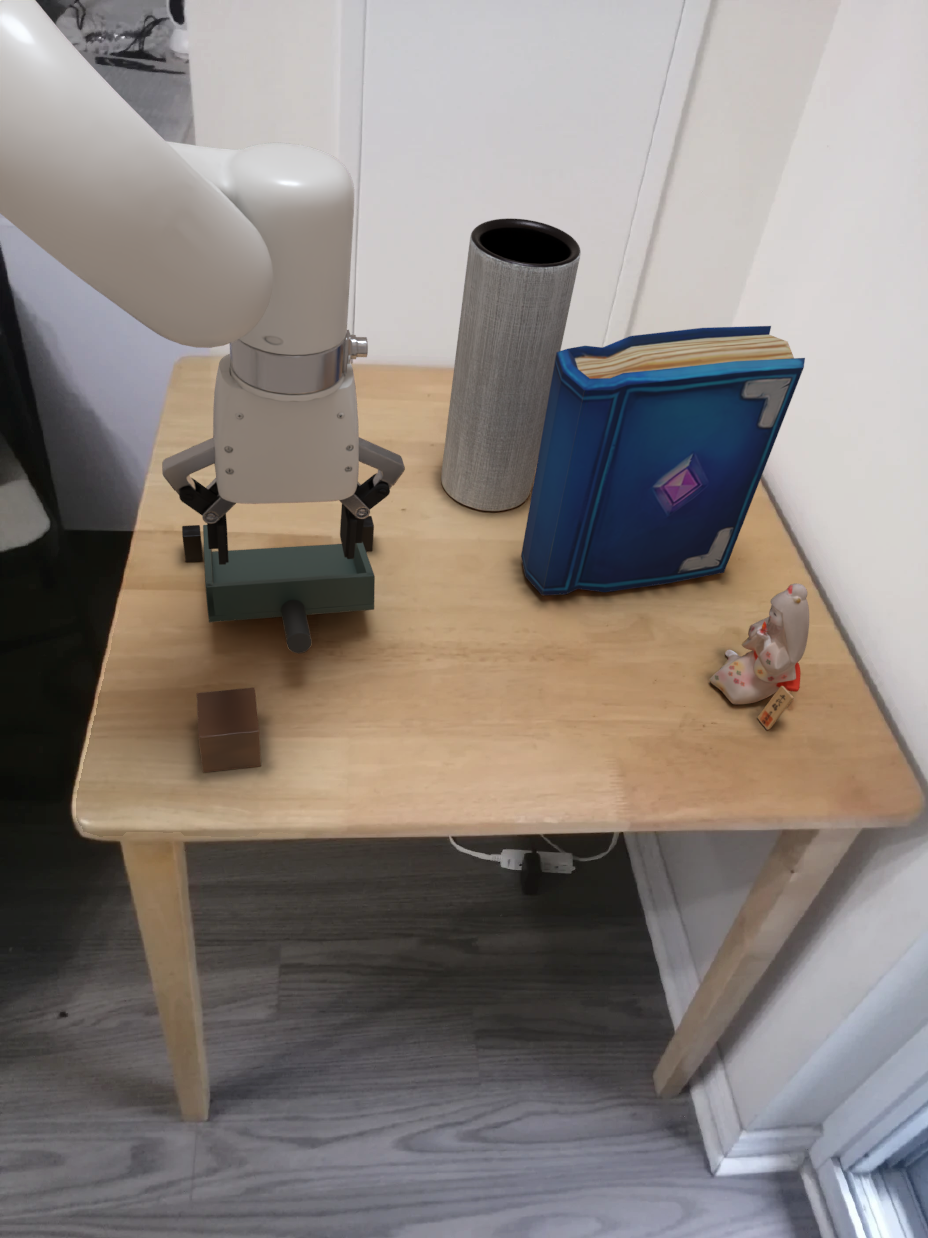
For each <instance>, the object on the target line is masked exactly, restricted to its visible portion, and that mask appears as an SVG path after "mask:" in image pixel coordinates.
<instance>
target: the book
mask: <svg viewBox="0 0 928 1238" xmlns="http://www.w3.org/2000/svg"><path fill="white" fill-rule="evenodd" d="M771 329H772V325H753V326H750V325H749V326H717V327H715V326H714V327H698V328H687V329H680V330H670V331H661V332H654V333H645V334H635V335H630V336H627V337H624V338H622V339H620V340H617V341H615V342H614V341H613V342H612V343H610V344H607V345H604V346H602V347H601V346H594V345H593V346H592V345H581V346H575V347H574V346H573V347H569V348H566V349H561V351H559V352H556V358H555V364H554V370H553V375H552V381H551V387H550V392H549V398H548V404H547V410H546V415H545V421H544V427H543V433H542V438H541V444H540V450H539V456H538V461H537V465H536V470H535V475H534V480H533V484H532V489H531V496H530V503H529V508H528V514H527V518H526V524H525V531H524V536H523V542H522V547H521V554H520V558H521V563H522V567H523V573H524V577H525V578H526V579H527V580H528V582H530V584H531V585H532V586H533V587H534V588H535V589H536V590H537V592H538V593H539V594H540V595H541V596H557V595H560V596H561V595H568V594H570V593H572V592H575V591H577V590H585V591H592V592H599V593H600V592H601V593H608V592H609V593H610V592H617V591H624V590H630V589H638V588H646V587H652V586H659V585H665V584H671V583H676V582H682V581H686V580H692V579H697V578H702V577H708V576H714V575H718V574H723V573H725V572H726V568H727V566H728V564H729V561H730V559H731V556H732V553H733V551H734V548H735V546H736V543H737V541H738V538H739V536H740V533H741V530H742V527H743V526H744V522H745V520H746V517H747V515H748V512H749V509H750V507H751V504H752V502H753V499H754V497H755V494H756V491H757V489H758V486H759V483H760V481H761V479H762V476H763V474H764V471H765V468H766V466H767V463H768V461H769V459H770V455H771V453H772V451H773V447H774V446H775V443H776V440H777V437H778V435H779V432H780V430H781V427H782V425H783V423H784V419H785V418H786V415H787V412H788V409H789V407H790V404H791V402H792V399H793V398H794V394H795V392H796V389H797V386H798V384H799V381H800V379H801V376H802V373H803V372H804V369H805V363H806V357H794V355H793V351H792V349H791V346H790V344H789V341H787V340H785V339H782V338H780V337H777V336H774V335H771Z"/></svg>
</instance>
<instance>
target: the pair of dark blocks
mask: <svg viewBox="0 0 928 1238" xmlns="http://www.w3.org/2000/svg"><path fill="white" fill-rule="evenodd" d="M374 532H375V525H374V521H373V517H372V515H369V516H368V517H367V518H364V527H363V538H362V542H363V545H364V547H365V550H366V552H372V551H373V547H374V534H375V533H374ZM181 535H182V545H183V552H184V561H185V563H193V562H194V563H195V562H203V561H204V551H203V543H202V533H201V525H200V524H192V525H182V526H181Z"/></svg>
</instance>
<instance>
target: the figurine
mask: <svg viewBox="0 0 928 1238" xmlns="http://www.w3.org/2000/svg"><path fill="white" fill-rule="evenodd" d="M809 630H810V608H809V602H808V590H807V588H806V586H805V585H804V584H802V583H797V582H796V583H791V584H790V585H788V586H787V588H786V589H785V590H782V591H781V592H779V593H776V594H775V595H774V596H773V597H772V598H771V599H770V609H769V611H768V616H767V617H765V618H763V619H760V620H758V621H756V622H754V623H752V624H750V625H749V627H748V633H747V635H748V637H747V638H745V640H744V641H743V642H742V643H741V647H742V648H744V649H746V650H749V651H748V652H746V653H745V654H743V655H742V656H741V655H739V654H738V653H737V652H735V651H734V650H732V649H727V650H726V651H725V652H724V655H725V656H726V657H727V660H726V662H724V663H723V665H722V666H721V667H720V668H719V670H717V671H716V672H714V674H713V675H712V676H710V678H709V682H710V683H711V684H712V685H713V686H714V687H716V688H717V689H718V690H720V691H721V692H722V694H723V695H724V696H725V697H726V699H728V701H729V703H731V704H733V705H749V704H753V703H757V702H760V701H762V700H765V699H767V698H769V697H770V696H771V699H770V700H769V701H768V703H767V704H766V705H765V707H764V708H763V709H762V711H760V713H759V714H758V716H757V719H758V721H759V722H760V723H761V725H762V726H763V727H764V728H765V730H767V731H769V730H771V728H772V727H773V726H774V725H775V723H776V722H777V721H778V720H779V718H780V717H781V716H782V714H783V713H784V712H785V710H786V709H787V708H788V707H789V705H790V704H791V702H792V701H794V699H795V698H794V696H793V695H792V693H790V692H793V693H797V692H798V691H799V690H800V685H801V666H800V663H799V662H800V661H801V660H802V658H803V656H804V654H805V652H806V649H807V643H808V637H809V632H810V631H809ZM772 695H773V696H772Z"/></svg>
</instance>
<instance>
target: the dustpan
mask: <svg viewBox="0 0 928 1238" xmlns="http://www.w3.org/2000/svg"><path fill="white" fill-rule="evenodd" d="M202 533H203V534H202V535H203V539H202V540H203V561H204V564H203V565H204V586H205V587H204V588H205V595H206V597H205V598H206V607H207V618H208V623H217V622H218V623H220V622H233V621H246V620H259V619H271V618H281V619H282V625H283V631H284V637H285V642H286V647H287V649H288V650H289V651H290V652H291V653H295V654H304V653H306V652H308V651H309V649H310V648H311V647H312V644H313V640H312V635H311V631H310V626H309V622H308V616H309V615H310V616H311V615H323V614H335V613H350V612H361V611H362V612H363V611H374V610H375V583H376V582H375V579H376V578H375V577H376V576H375V572H374V570H373V567H372V565H371V562H370V559H369V556H368V553H367V551H366V550H365V547H364V545H363V542H362V543H355V554H354V559H347V557H344V552H343V548H342V543H332V544H315V545H301V546H297V545H295V546H281V547H280V546H279V547H267V548H266V547H264V548H249V549H232V550H229V549H228V560H229V563H226V564H225V565H219V556H218V550H214V551H213V549H209V546H208V530H207V524H203V525H202Z"/></svg>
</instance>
